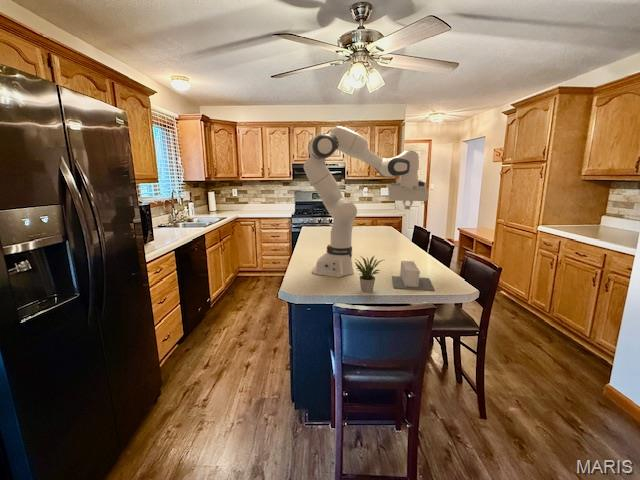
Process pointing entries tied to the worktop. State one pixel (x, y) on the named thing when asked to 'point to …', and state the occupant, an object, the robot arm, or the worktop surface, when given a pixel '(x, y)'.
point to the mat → (423, 285)
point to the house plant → (367, 275)
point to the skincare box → (409, 274)
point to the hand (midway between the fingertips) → (407, 209)
